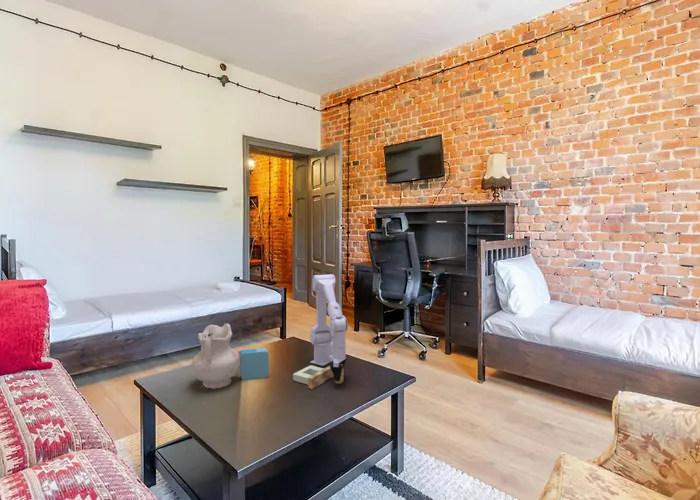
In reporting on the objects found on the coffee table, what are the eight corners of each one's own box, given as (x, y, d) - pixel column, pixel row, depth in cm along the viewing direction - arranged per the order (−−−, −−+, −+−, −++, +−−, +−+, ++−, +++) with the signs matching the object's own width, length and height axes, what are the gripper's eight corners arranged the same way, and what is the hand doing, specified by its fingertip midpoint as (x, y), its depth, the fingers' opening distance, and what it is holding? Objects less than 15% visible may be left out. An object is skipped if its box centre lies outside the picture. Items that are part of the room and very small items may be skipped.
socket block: (310, 371, 174) (310, 365, 174) (328, 375, 169) (328, 369, 169) (293, 380, 164) (293, 373, 164) (311, 385, 159) (311, 379, 159)
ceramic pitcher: (239, 394, 154) (243, 333, 153) (187, 398, 148) (190, 334, 146) (238, 374, 174) (241, 320, 173) (192, 376, 168) (195, 320, 167)
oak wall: (333, 373, 172) (333, 363, 172) (337, 374, 171) (337, 364, 171) (308, 387, 157) (308, 377, 157) (312, 389, 156) (312, 378, 156)
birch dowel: (337, 378, 166) (337, 363, 166) (345, 381, 164) (345, 365, 164) (332, 382, 163) (332, 366, 162) (340, 384, 161) (340, 368, 160)
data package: (268, 373, 172) (268, 347, 171) (269, 377, 168) (268, 350, 167) (240, 376, 169) (240, 350, 168) (240, 380, 165) (240, 353, 164)
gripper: (332, 340, 170) (332, 370, 171) (326, 351, 156) (326, 383, 157) (348, 341, 169) (348, 371, 170) (343, 352, 155) (343, 384, 156)
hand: (338, 377), depth 163 cm, fingers open, 7 cm apart
